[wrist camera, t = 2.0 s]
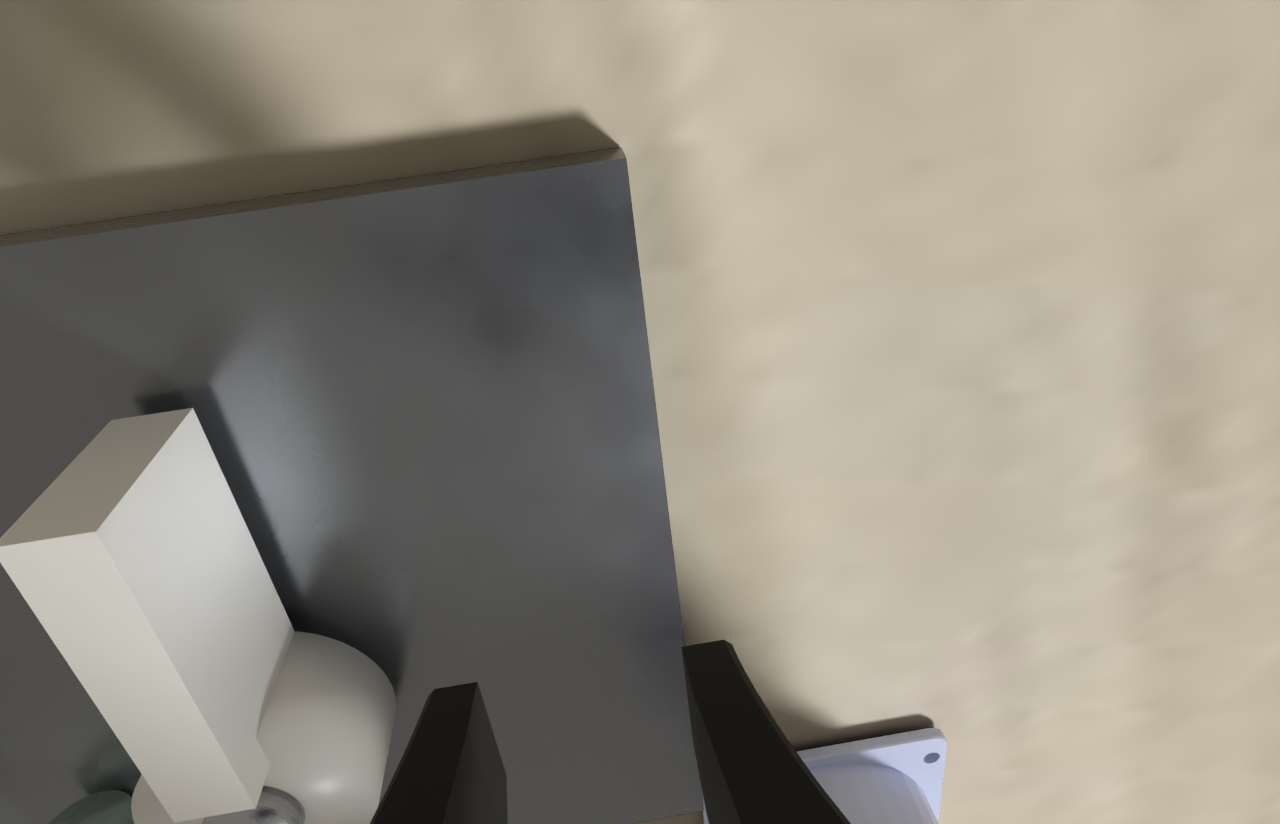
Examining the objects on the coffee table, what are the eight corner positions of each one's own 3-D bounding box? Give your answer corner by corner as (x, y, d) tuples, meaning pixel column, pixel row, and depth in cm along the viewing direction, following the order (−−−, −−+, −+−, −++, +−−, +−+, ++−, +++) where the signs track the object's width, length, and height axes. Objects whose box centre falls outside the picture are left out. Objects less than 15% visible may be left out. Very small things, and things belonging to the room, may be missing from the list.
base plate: (698, 782, 26) (720, 895, 23) (68, 894, 25) (1, 1027, 22) (621, 147, 16) (642, 191, 13) (-434, 297, 15) (-691, 384, 12)
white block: (417, 751, 21) (394, 903, 18) (229, 784, 21) (169, 945, 18) (279, 394, 16) (206, 513, 12) (23, 433, 16) (-123, 566, 12)
